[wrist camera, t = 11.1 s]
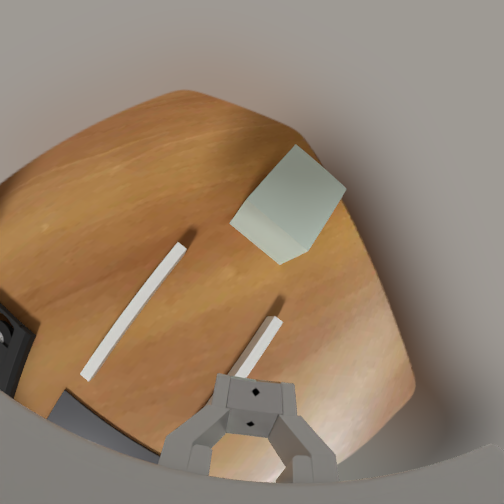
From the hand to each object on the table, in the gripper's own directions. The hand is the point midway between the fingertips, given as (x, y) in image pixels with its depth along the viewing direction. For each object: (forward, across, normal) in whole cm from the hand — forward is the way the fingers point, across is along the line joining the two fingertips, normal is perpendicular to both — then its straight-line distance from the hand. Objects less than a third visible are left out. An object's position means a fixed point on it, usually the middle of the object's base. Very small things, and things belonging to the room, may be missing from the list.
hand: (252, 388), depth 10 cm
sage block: (+28, -2, 0) cm, 28 cm away
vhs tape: (+6, +30, +17) cm, 35 cm away
